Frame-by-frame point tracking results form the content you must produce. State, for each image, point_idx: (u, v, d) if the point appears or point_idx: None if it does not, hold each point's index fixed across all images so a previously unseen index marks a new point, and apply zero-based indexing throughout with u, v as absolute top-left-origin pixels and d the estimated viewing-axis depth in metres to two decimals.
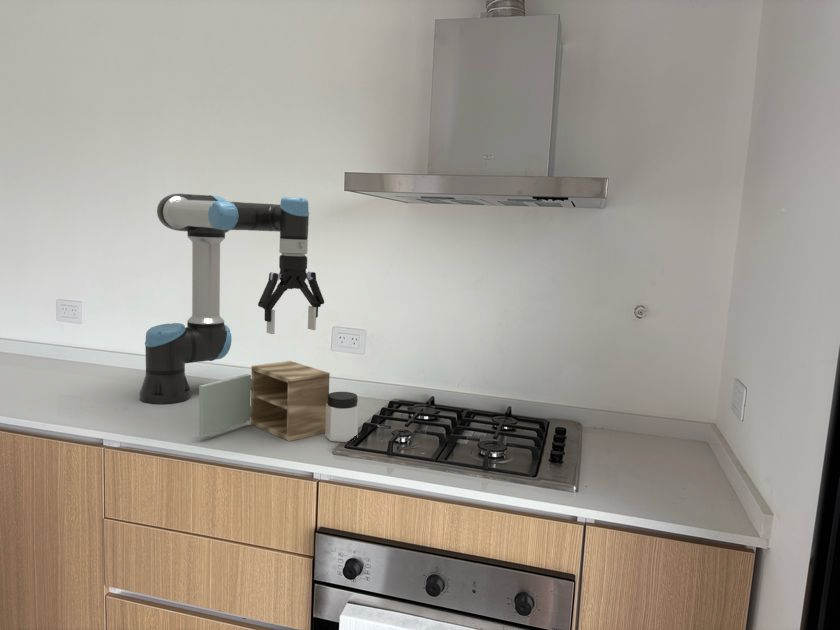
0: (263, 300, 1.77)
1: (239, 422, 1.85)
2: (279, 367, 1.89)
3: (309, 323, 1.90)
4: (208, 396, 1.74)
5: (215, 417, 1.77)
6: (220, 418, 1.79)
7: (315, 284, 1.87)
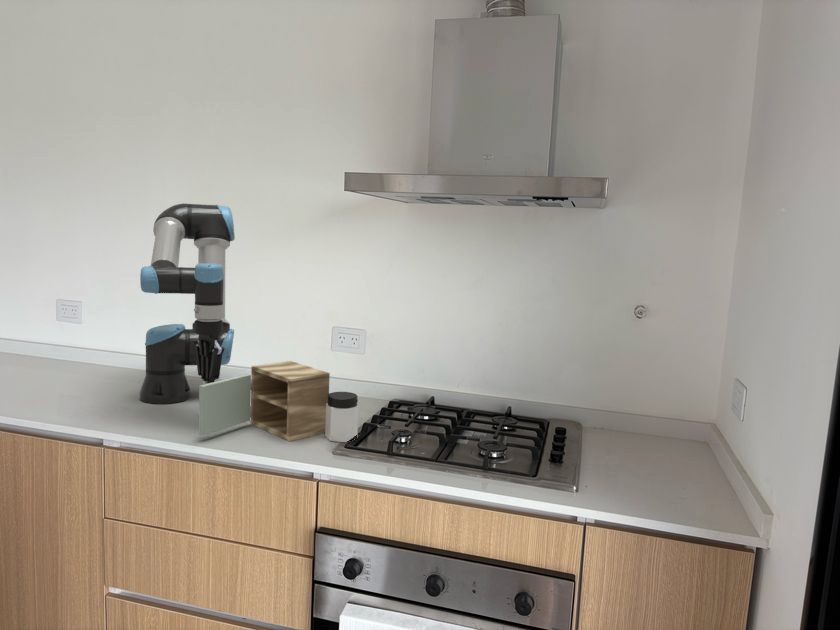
0: None
1: (239, 422, 1.85)
2: (279, 367, 1.89)
3: None
4: (208, 396, 1.74)
5: (215, 417, 1.77)
6: (220, 418, 1.79)
7: (212, 358, 1.82)
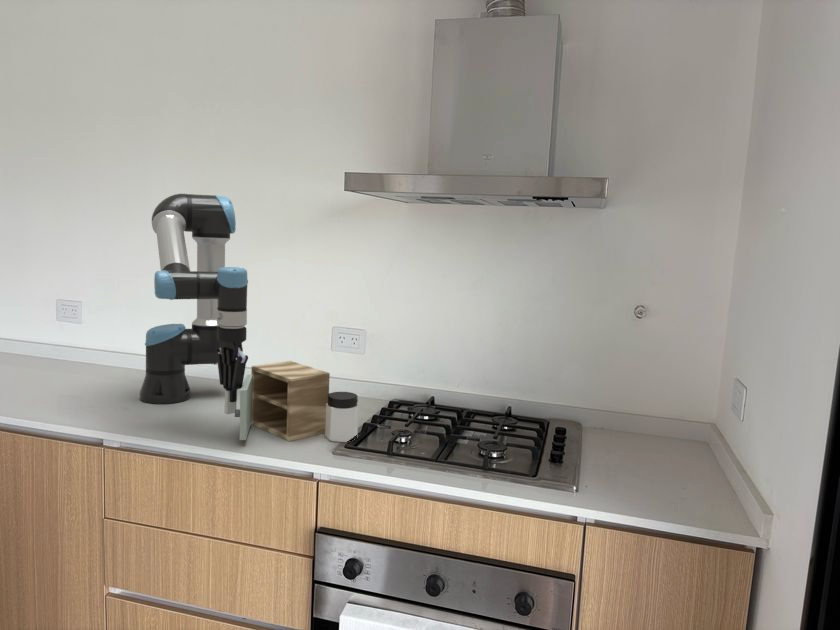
0: None
1: (250, 423, 1.85)
2: (279, 367, 1.89)
3: None
4: (247, 399, 1.73)
5: (247, 419, 1.76)
6: (248, 420, 1.78)
7: (235, 367, 1.73)
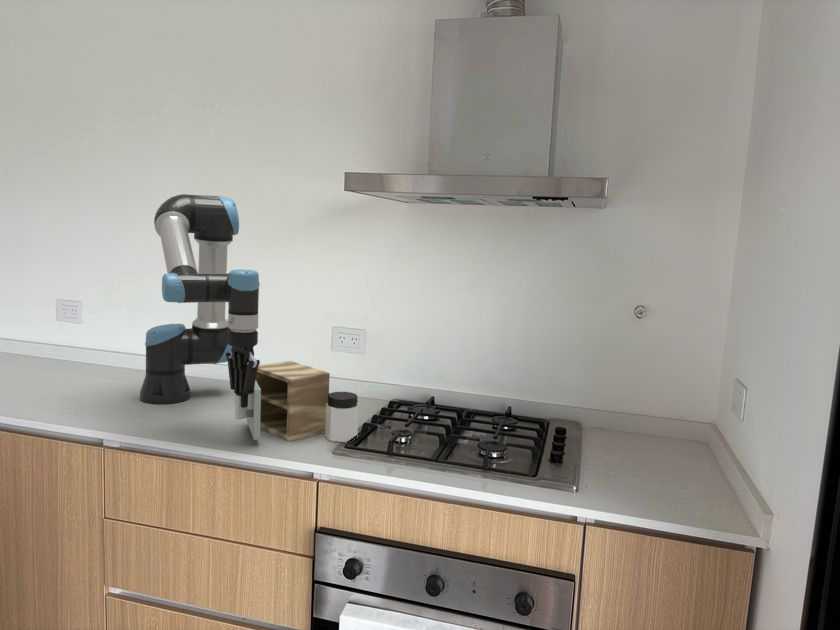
0: None
1: None
2: (279, 367, 1.89)
3: None
4: None
5: None
6: None
7: (247, 371, 1.70)
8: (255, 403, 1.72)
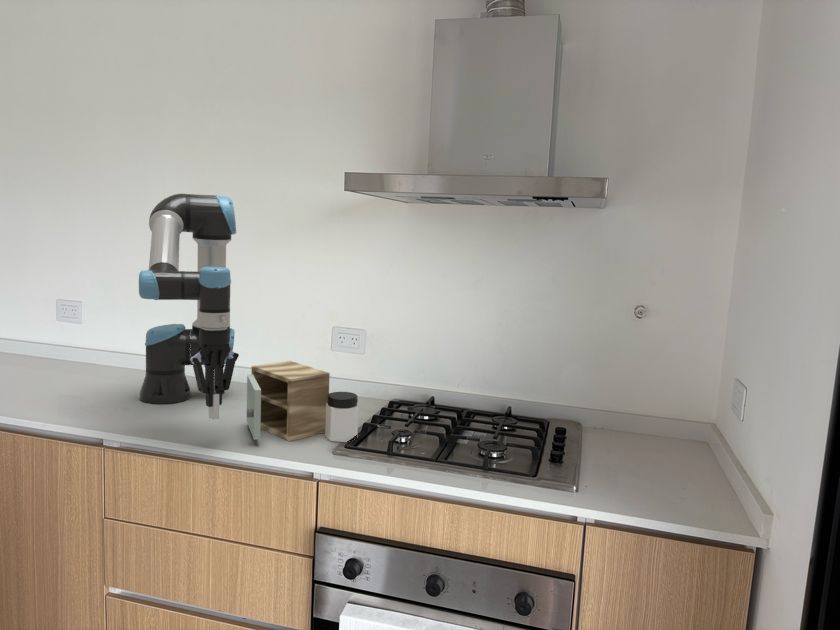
0: (200, 387, 1.68)
1: None
2: (279, 367, 1.89)
3: None
4: None
5: None
6: None
7: (231, 365, 1.73)
8: (255, 403, 1.72)
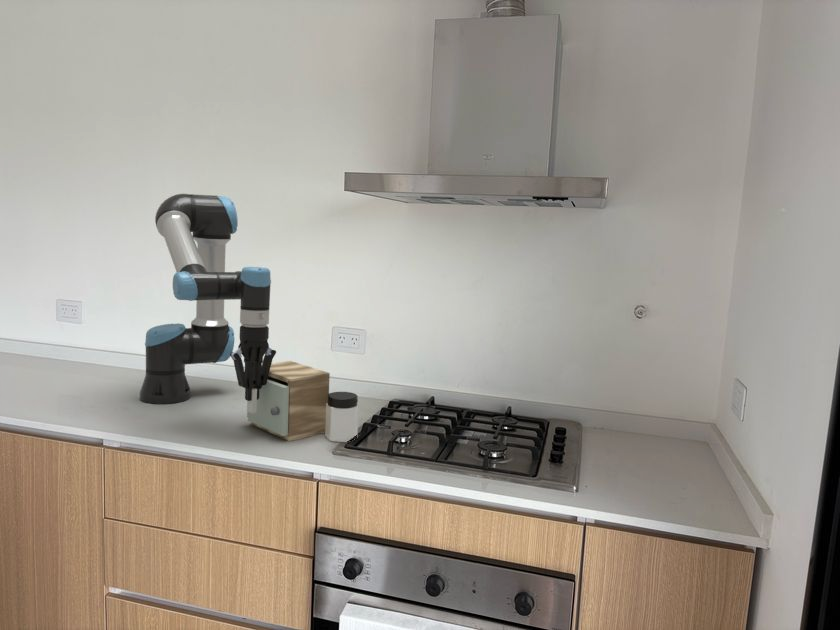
0: (241, 381, 1.76)
1: None
2: (279, 367, 1.89)
3: None
4: None
5: None
6: None
7: (269, 362, 1.80)
8: (284, 400, 1.76)
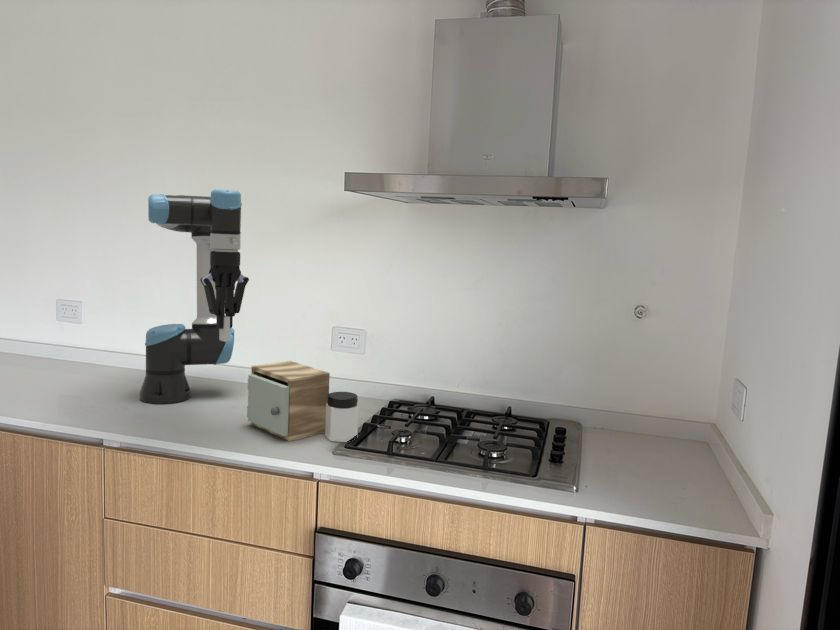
0: (211, 308, 1.71)
1: None
2: (279, 367, 1.89)
3: None
4: None
5: None
6: None
7: (242, 289, 1.75)
8: (284, 400, 1.76)
